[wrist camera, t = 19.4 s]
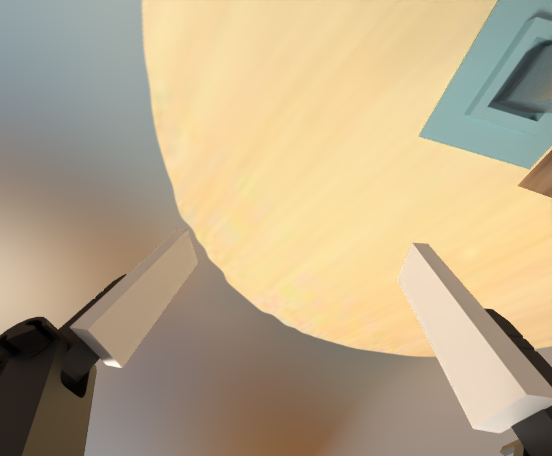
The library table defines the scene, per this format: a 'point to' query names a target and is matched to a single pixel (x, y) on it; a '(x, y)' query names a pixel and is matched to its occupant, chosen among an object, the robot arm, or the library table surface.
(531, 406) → the robot arm
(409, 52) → the library table surface
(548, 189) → the door panel
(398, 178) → the library table surface
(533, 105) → the bar
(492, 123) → the socket
